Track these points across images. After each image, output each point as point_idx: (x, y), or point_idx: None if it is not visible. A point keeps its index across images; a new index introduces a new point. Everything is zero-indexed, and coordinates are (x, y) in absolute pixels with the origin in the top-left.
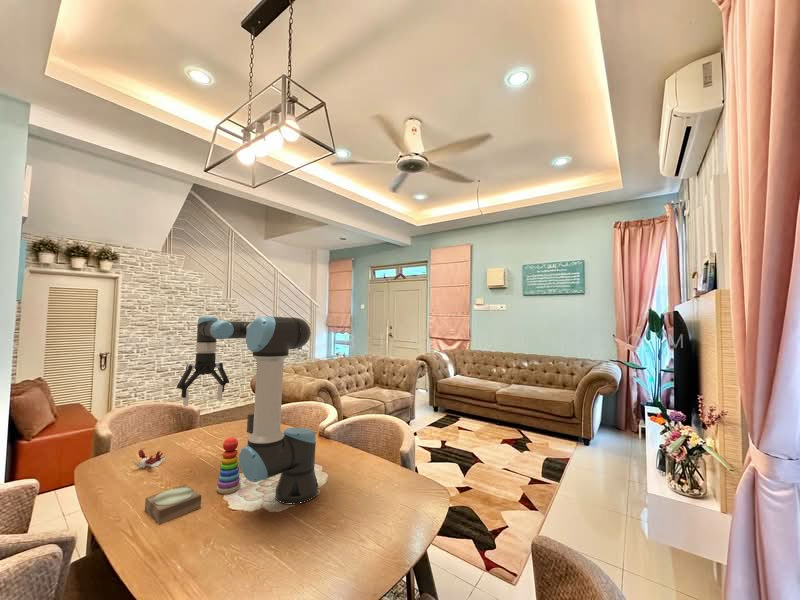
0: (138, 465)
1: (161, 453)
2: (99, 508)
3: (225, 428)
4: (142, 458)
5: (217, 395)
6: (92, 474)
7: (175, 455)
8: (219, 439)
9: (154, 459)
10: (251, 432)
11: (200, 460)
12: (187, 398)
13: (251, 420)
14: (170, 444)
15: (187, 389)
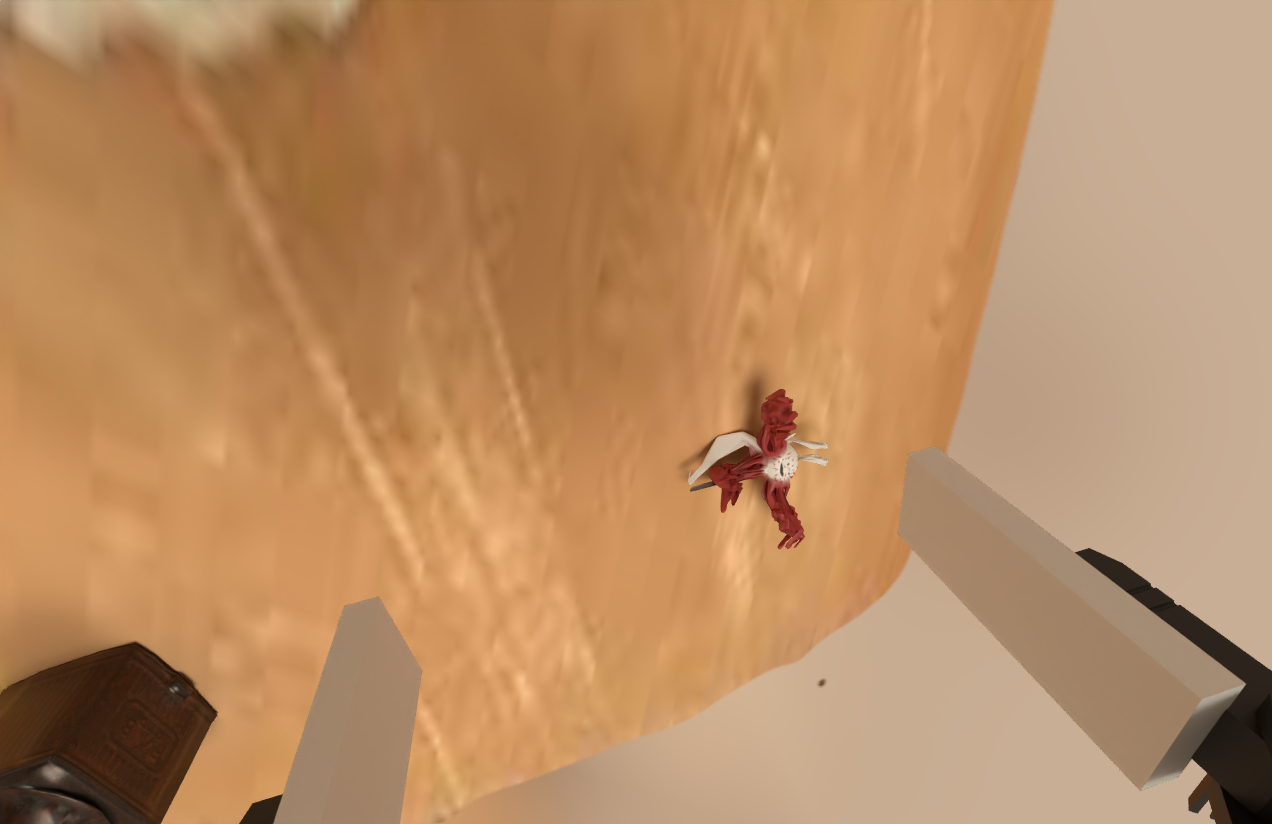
0: (802, 441)
1: (723, 481)
2: (1007, 88)
3: None
4: (788, 483)
5: (408, 748)
6: None
7: (626, 530)
8: None
9: (770, 413)
10: (181, 681)
11: (533, 407)
12: (1022, 528)
13: (141, 771)
14: (618, 662)
15: (1195, 723)
